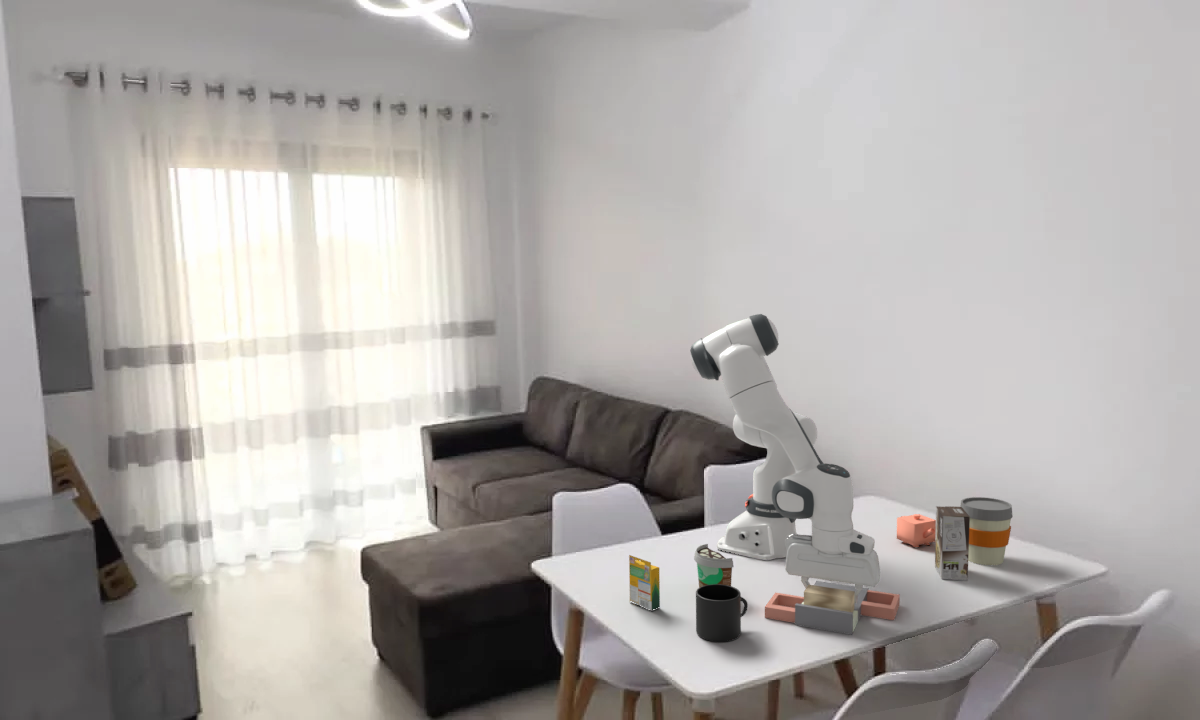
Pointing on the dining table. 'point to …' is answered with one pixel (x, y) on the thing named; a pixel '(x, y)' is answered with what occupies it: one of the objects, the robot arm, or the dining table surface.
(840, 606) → the beech bar
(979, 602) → the dining table surface
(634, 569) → the crayon box
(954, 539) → the coffee box
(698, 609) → the mug
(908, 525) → the pink cube teapot
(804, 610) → the board
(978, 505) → the reusable coffee cup
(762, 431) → the robot arm
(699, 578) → the food container
